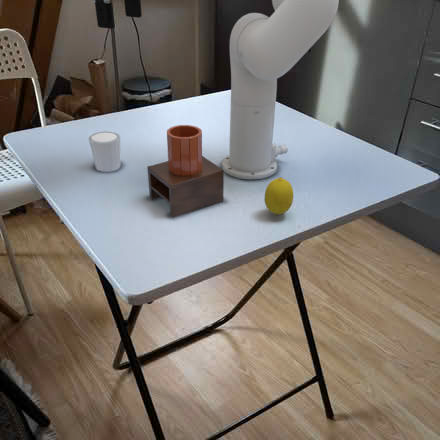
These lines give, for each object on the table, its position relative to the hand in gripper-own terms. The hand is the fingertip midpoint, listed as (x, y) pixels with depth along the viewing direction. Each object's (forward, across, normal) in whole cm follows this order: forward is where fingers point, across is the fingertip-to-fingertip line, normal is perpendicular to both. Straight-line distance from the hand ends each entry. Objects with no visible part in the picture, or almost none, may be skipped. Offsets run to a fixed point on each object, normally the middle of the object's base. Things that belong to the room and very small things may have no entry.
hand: (120, 22), depth 95 cm
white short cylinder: (+31, +2, +9) cm, 33 cm away
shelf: (+31, -5, -14) cm, 35 cm away
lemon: (+32, -3, -33) cm, 46 cm away
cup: (+24, -5, -14) cm, 28 cm away
